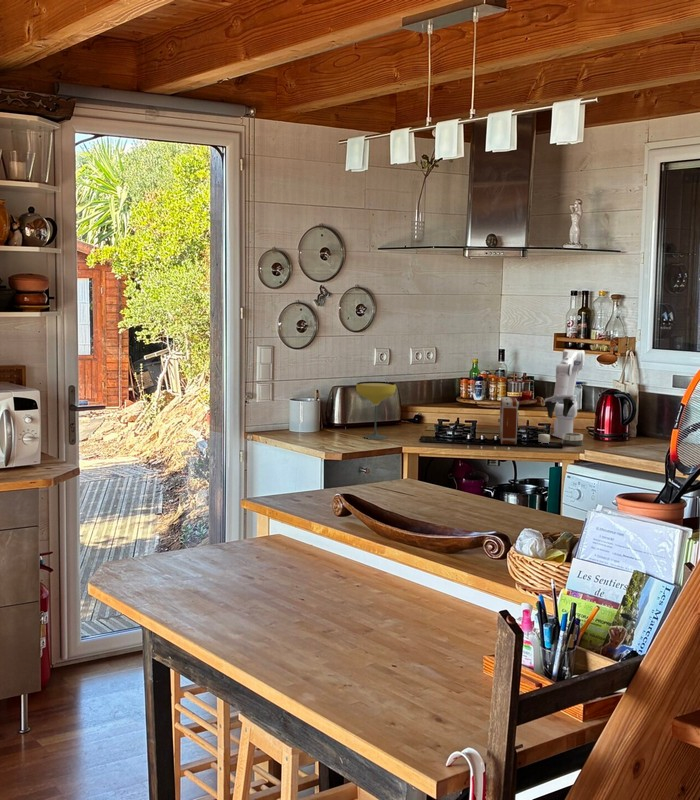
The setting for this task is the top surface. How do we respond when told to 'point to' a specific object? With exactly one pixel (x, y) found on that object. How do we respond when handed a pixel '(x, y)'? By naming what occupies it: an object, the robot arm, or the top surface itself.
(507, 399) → the cine camera
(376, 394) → the cocktail glass
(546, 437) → the lens cap
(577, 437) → the lens barrel
